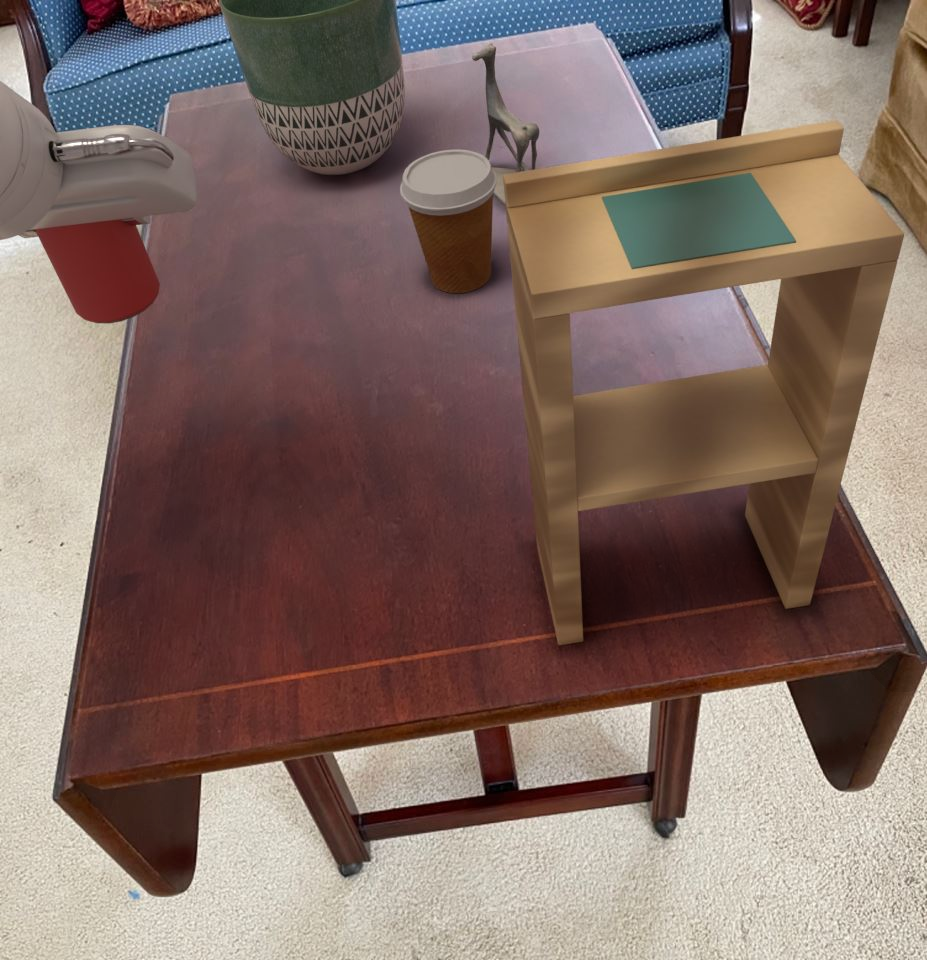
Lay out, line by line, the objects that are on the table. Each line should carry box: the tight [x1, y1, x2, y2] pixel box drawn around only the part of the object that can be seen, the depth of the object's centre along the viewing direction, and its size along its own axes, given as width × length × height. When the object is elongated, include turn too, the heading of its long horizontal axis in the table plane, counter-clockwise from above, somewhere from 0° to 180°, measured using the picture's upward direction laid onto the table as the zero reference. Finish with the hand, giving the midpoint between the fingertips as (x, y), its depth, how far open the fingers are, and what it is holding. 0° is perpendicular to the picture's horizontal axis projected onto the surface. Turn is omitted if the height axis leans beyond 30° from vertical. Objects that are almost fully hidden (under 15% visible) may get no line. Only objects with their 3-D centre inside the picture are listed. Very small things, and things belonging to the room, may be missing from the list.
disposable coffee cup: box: [399, 149, 497, 294], centre depth 95 cm, size 10×10×12 cm
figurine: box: [471, 43, 540, 207], centre depth 106 cm, size 11×6×15 cm, turn 15°
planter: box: [218, 0, 406, 176], centre depth 112 cm, size 20×20×21 cm
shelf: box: [503, 120, 905, 646], centre depth 58 cm, size 18×9×32 cm, turn 96°
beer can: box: [35, 219, 161, 324], centre depth 68 cm, size 7×7×12 cm
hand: (87, 220), depth 68 cm, fingers closed on beer can, 6 cm apart
